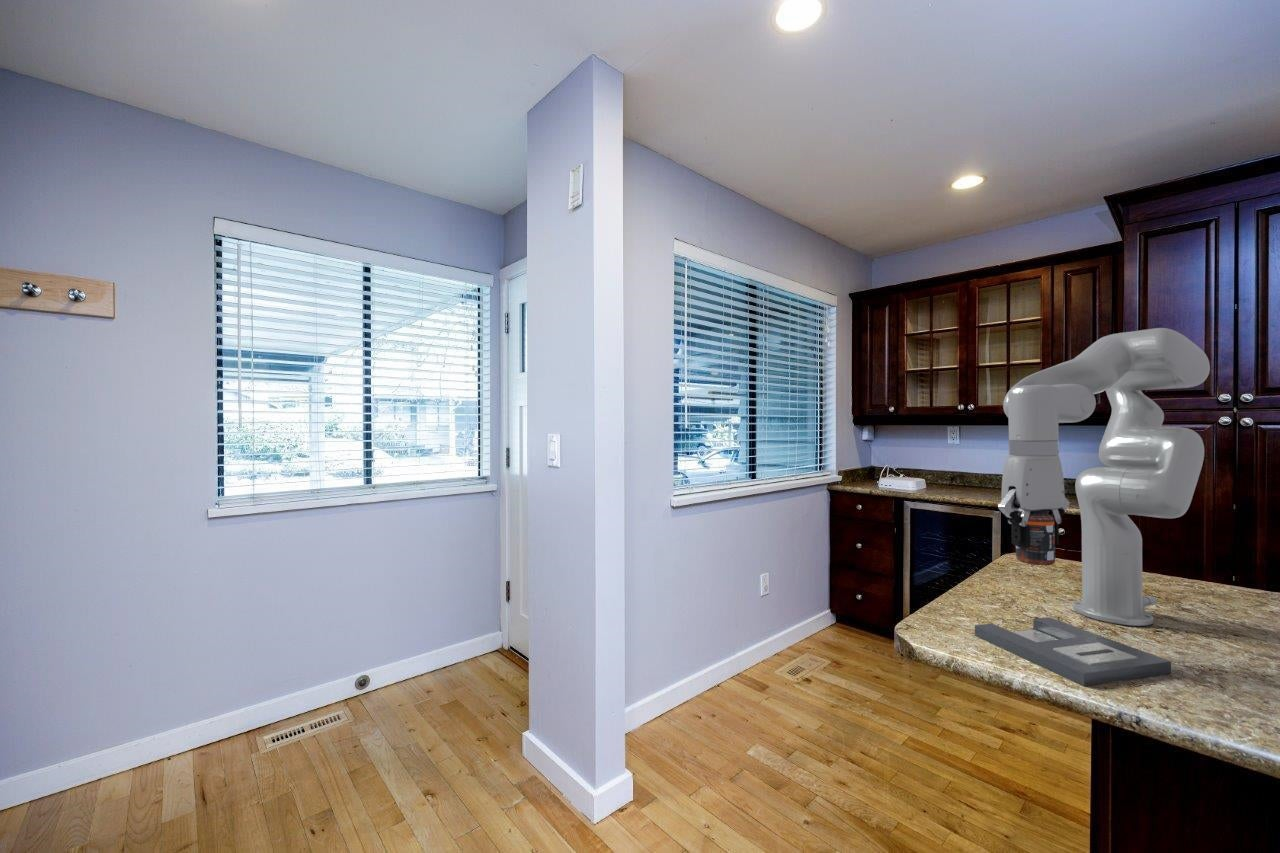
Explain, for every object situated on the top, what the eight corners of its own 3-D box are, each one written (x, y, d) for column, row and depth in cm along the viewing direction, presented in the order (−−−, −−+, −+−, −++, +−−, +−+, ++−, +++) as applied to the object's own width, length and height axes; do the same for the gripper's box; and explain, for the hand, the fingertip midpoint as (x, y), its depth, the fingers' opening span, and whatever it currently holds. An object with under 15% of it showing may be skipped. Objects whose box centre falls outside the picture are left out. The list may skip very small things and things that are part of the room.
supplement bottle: (1062, 567, 94) (1061, 505, 94) (1026, 566, 95) (1024, 505, 95) (1044, 558, 99) (1042, 500, 99) (1009, 557, 101) (1008, 500, 101)
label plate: (1049, 627, 103) (1049, 615, 103) (1171, 673, 84) (1170, 659, 84) (974, 635, 99) (974, 623, 99) (1084, 686, 80) (1083, 671, 80)
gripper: (1050, 447, 102) (1051, 537, 103) (978, 450, 99) (980, 543, 99) (1090, 449, 95) (1092, 546, 95) (1014, 452, 91) (1016, 553, 92)
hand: (1035, 543), depth 97 cm, fingers closed on supplement bottle, 6 cm apart
